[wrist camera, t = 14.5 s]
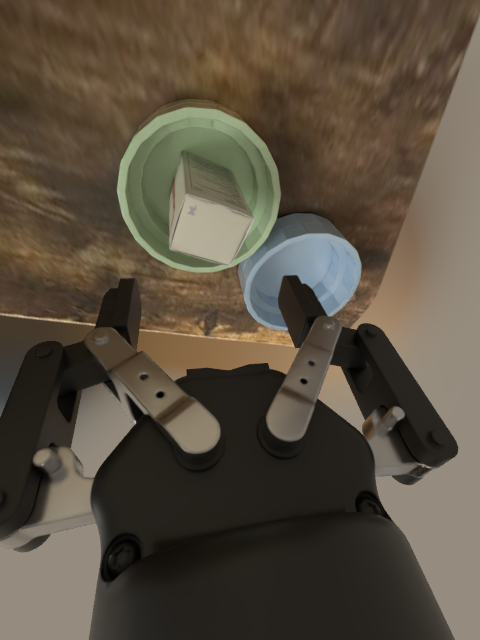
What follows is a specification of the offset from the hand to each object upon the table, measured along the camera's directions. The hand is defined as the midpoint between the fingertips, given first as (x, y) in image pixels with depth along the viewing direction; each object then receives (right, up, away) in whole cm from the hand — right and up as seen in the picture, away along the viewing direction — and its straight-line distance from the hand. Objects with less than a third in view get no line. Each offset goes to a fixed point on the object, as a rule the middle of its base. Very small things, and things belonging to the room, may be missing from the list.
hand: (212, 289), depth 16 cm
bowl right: (+8, +5, +19) cm, 22 cm away
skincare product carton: (-2, +11, +11) cm, 16 cm away
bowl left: (-2, +11, +11) cm, 16 cm away
